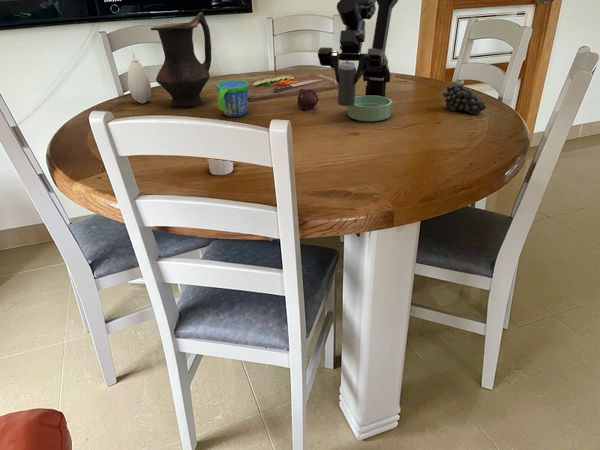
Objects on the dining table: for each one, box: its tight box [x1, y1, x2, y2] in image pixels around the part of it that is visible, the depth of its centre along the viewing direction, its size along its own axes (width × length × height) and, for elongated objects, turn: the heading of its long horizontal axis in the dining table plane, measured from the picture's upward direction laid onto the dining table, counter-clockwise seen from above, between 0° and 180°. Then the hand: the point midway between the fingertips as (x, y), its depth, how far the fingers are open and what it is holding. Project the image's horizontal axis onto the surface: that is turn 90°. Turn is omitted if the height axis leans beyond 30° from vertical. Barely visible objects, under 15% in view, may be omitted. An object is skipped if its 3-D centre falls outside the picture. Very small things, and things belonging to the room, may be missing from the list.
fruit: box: [442, 82, 487, 115], centre depth 150 cm, size 9×8×15 cm
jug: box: [150, 11, 212, 108], centre depth 161 cm, size 21×18×30 cm
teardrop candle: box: [127, 51, 152, 104], centre depth 167 cm, size 8×8×18 cm
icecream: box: [296, 89, 320, 111], centre depth 157 cm, size 7×7×15 cm
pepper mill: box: [337, 60, 357, 107], centre depth 136 cm, size 5×5×13 cm
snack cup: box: [215, 79, 249, 118], centre depth 153 cm, size 16×10×10 cm
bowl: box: [347, 95, 393, 122], centre depth 149 cm, size 14×14×5 cm
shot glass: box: [207, 159, 234, 176], centre depth 112 cm, size 7×7×7 cm
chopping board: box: [245, 72, 338, 102], centre depth 186 cm, size 45×27×3 cm, turn 117°
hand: (346, 82), depth 134 cm, fingers closed on pepper mill, 5 cm apart
